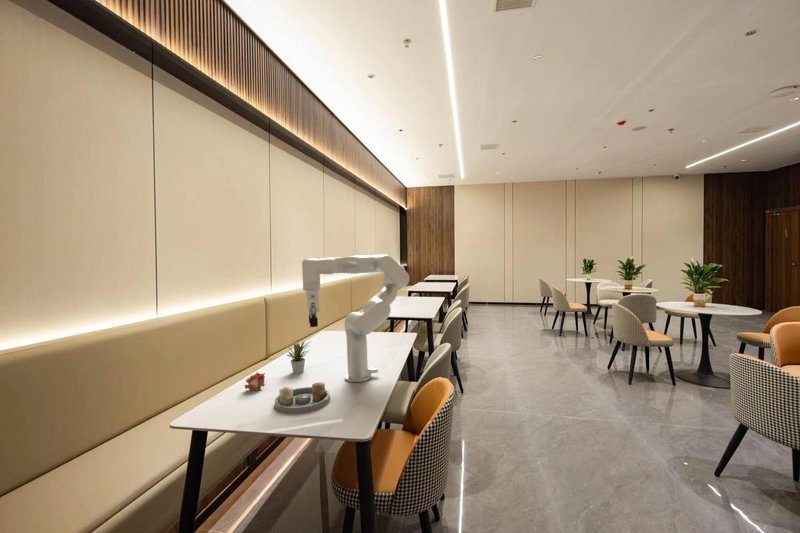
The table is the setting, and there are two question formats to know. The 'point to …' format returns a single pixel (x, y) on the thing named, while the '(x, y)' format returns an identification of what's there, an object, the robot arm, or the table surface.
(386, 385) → the table surface
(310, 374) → the table surface
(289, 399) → the cream pillar candle
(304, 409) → the groove tray
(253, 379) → the flower
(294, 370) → the house plant
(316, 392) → the walnut bead
